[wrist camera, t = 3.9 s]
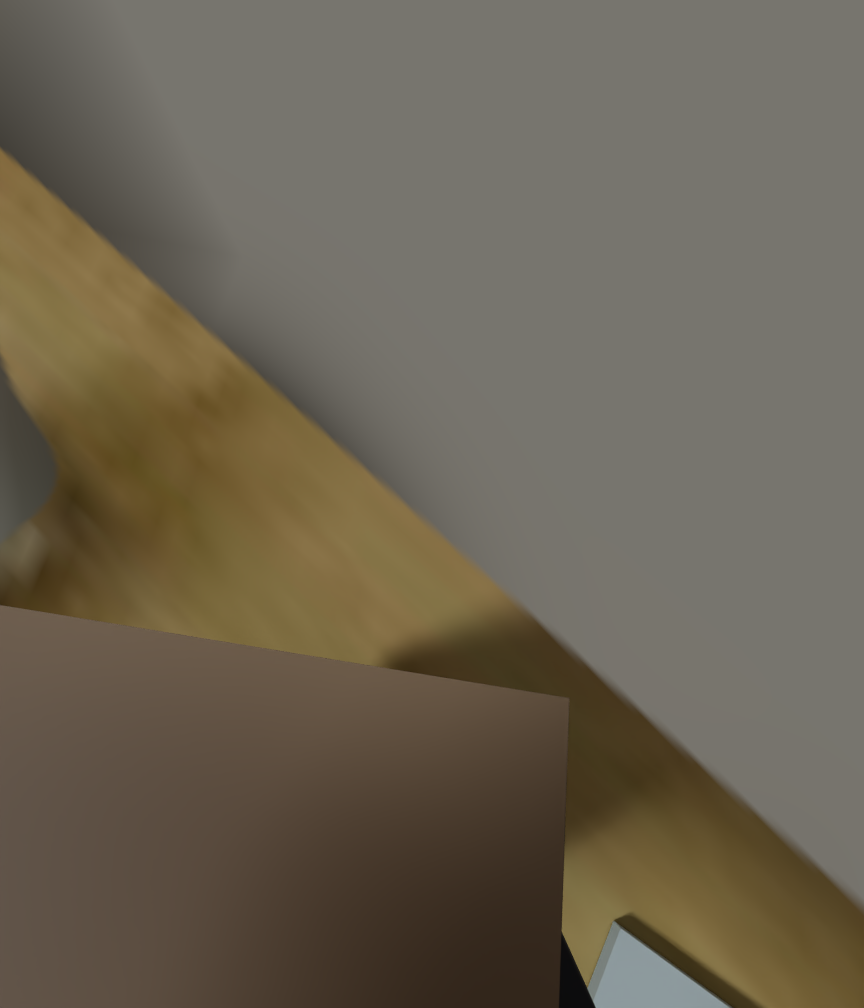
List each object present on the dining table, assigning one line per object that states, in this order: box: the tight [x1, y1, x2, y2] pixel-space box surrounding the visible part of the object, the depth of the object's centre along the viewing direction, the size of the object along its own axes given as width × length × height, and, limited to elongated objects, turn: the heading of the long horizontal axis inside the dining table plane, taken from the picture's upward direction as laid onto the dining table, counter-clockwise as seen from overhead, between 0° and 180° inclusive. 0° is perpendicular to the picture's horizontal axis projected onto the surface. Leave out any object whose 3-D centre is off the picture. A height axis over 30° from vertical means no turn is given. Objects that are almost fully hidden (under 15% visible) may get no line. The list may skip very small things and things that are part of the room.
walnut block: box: [0, 605, 569, 1008], centre depth 8 cm, size 6×6×12 cm
